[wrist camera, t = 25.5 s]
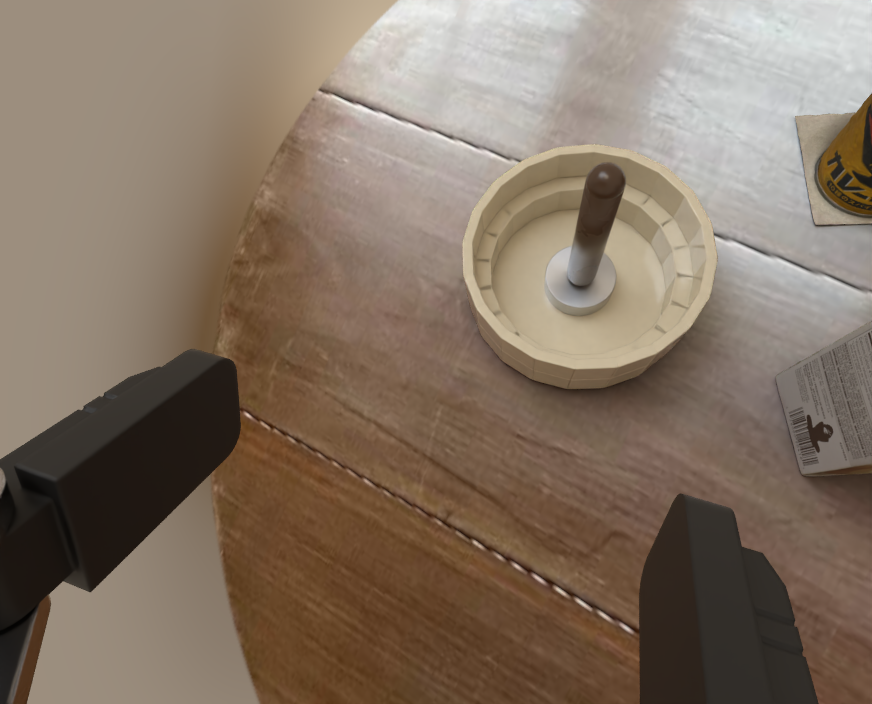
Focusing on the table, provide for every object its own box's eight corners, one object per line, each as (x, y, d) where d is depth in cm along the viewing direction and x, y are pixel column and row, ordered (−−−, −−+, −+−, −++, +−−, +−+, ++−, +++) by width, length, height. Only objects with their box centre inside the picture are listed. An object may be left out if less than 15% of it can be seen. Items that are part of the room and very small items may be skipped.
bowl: (443, 358, 37) (432, 332, 32) (502, 177, 40) (500, 127, 35) (663, 417, 34) (689, 399, 29) (705, 217, 37) (736, 168, 32)
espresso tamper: (536, 307, 36) (546, 204, 25) (553, 248, 38) (571, 122, 26) (604, 323, 36) (648, 224, 24) (619, 262, 37) (669, 138, 25)
